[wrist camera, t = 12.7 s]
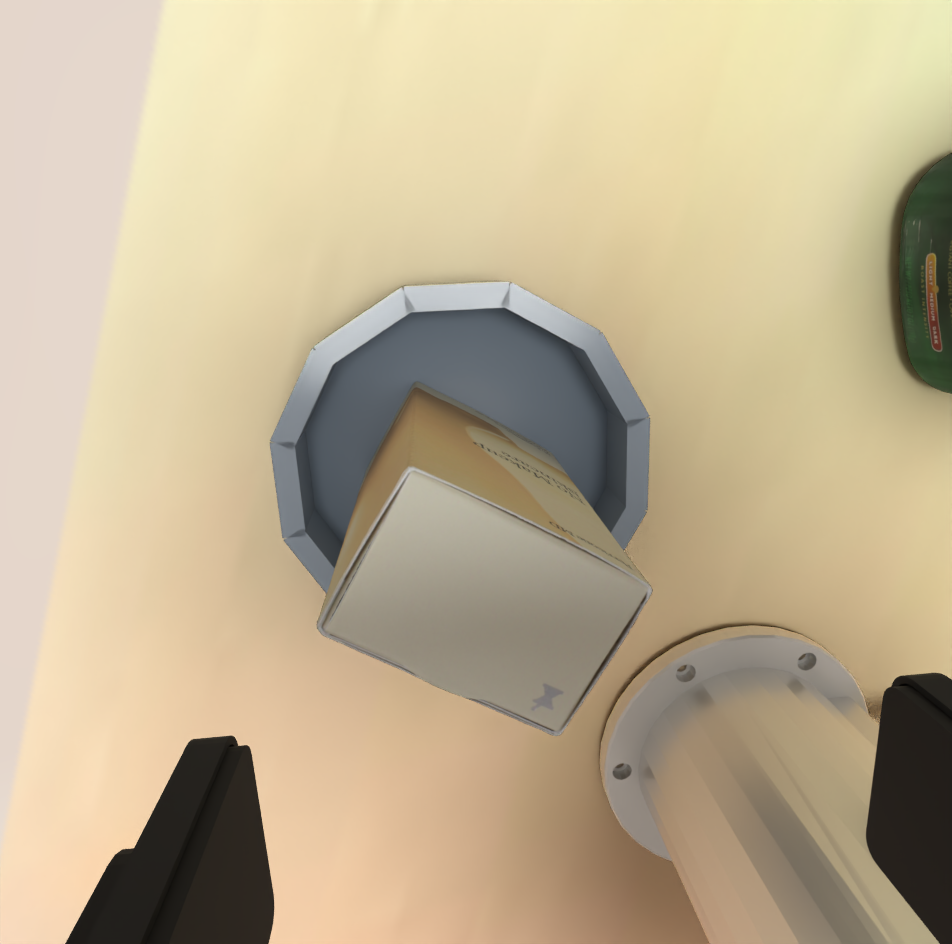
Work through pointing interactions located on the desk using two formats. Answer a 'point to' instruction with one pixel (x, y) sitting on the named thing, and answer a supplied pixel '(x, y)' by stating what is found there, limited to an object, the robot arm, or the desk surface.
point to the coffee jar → (928, 276)
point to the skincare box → (480, 567)
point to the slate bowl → (469, 382)
